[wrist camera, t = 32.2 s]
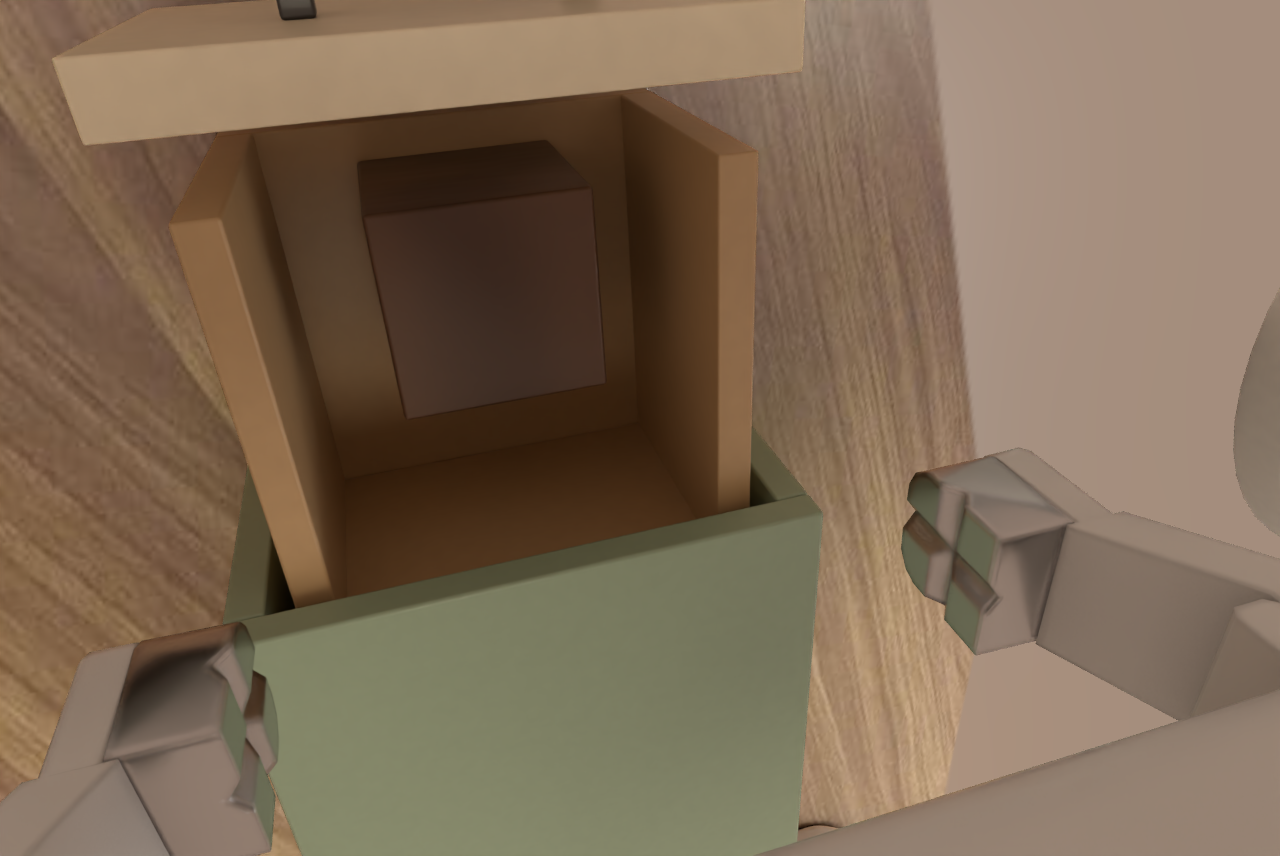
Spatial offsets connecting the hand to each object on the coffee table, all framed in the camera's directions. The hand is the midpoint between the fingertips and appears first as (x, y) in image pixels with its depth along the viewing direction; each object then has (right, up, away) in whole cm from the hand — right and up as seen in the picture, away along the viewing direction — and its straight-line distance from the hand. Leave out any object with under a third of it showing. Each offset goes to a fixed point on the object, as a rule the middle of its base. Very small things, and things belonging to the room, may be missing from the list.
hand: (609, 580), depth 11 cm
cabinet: (-4, -2, +19) cm, 19 cm away
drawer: (-4, +8, +11) cm, 15 cm away
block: (-4, +6, +11) cm, 14 cm away
